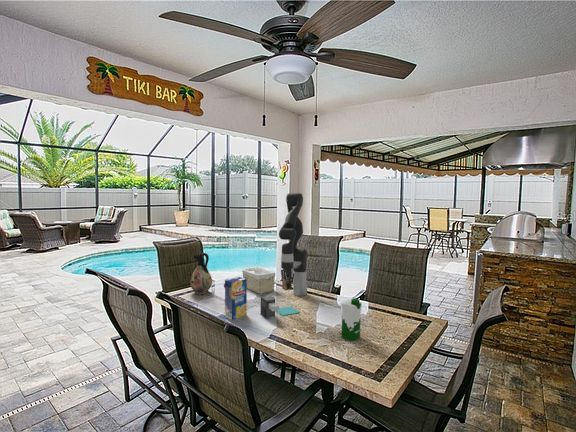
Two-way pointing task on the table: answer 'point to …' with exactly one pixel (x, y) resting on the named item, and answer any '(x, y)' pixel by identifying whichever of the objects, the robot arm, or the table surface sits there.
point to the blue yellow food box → (235, 298)
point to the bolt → (272, 306)
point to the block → (285, 284)
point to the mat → (287, 311)
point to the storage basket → (259, 279)
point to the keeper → (264, 309)
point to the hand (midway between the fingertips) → (287, 287)
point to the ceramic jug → (201, 275)
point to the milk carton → (351, 319)
